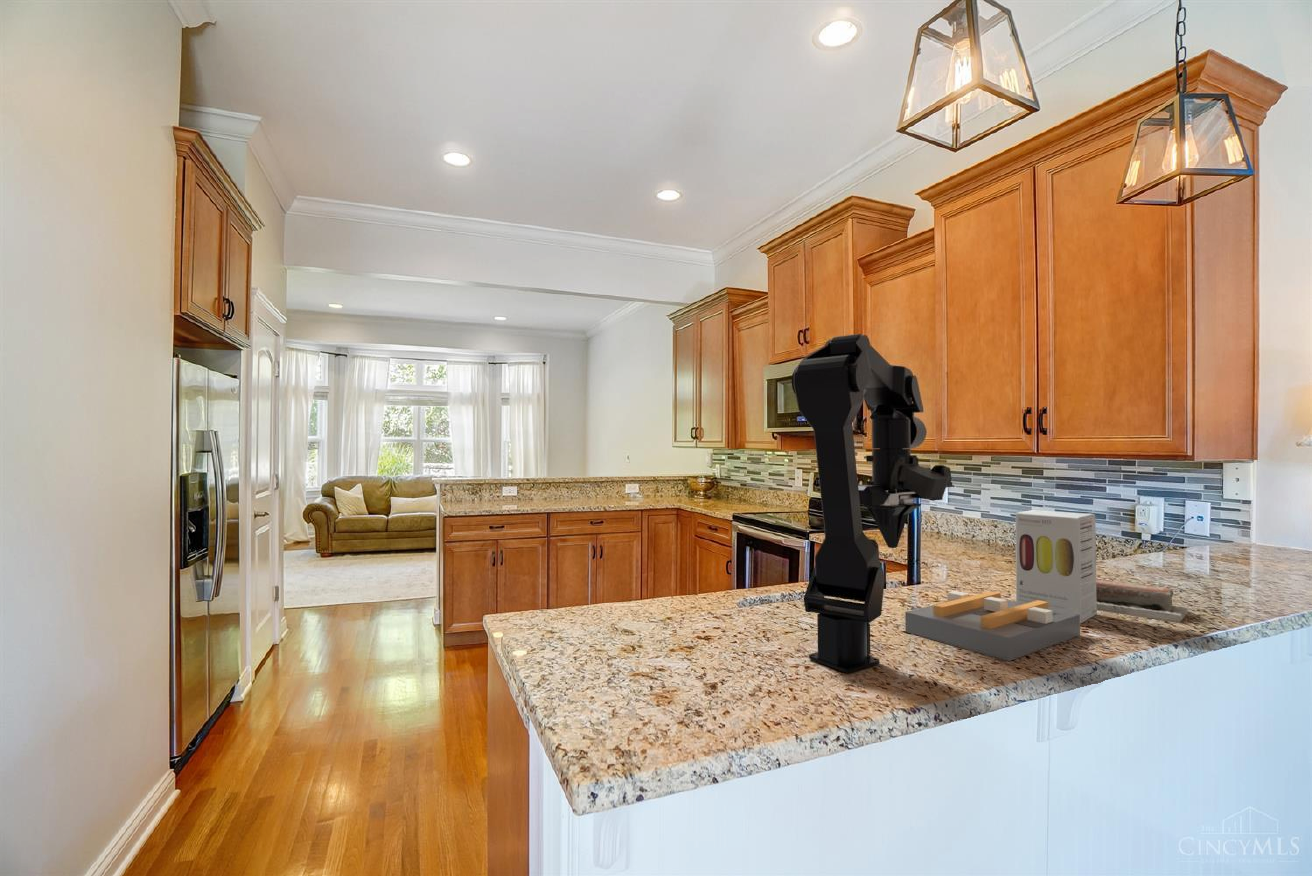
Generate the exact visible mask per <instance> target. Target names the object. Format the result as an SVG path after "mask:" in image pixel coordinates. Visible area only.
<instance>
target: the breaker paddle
mask: <svg viewBox="0 0 1312 876" xmlns="http://www.w3.org/2000/svg"><path fill="white" fill-rule="evenodd" d="M1007 600H1008V599H1004V598H1001V599H1000V598H995V597H988V598H984V609H985V610H990V611H995V612H998V611H1001V610H1005V609H1007Z"/></svg>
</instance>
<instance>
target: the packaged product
mask: <svg viewBox="0 0 1312 876" xmlns="http://www.w3.org/2000/svg"><path fill="white" fill-rule="evenodd" d="M1173 595H1174V591H1173V590H1172V589H1170V588H1165V587H1158V586H1157V587H1156V586H1151V585H1144V584H1138V583H1132V582H1131V583H1129V582H1123V581H1114V580H1109V579H1108V580H1107V579H1101V578H1096V600H1097V609H1098V610H1097V611H1101V610H1102V611H1103V612H1109V613H1114V614H1120V615H1122V614H1123V615H1127V616H1133V617H1134V616H1135V617H1139V616H1140V617H1141V618H1146V617H1147V619H1152V618H1153V620H1161V621H1167V622H1172V623H1173V622H1174V623H1181V622H1182V621H1183V619H1184V618H1185V617H1186V616H1187V615H1188V614H1189V613H1188V612H1189V606H1186V605H1176V604H1173ZM1102 611H1101V612H1102Z"/></svg>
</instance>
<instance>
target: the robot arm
mask: <svg viewBox="0 0 1312 876" xmlns="http://www.w3.org/2000/svg"><path fill="white" fill-rule="evenodd" d="M912 371H913V370H911V369H910V368H908V367H906V366H903V365H893V364H890V363H889V362H888V361H887V360H886V359H885V358H884V357H883V356H882V355H881V354H880V353H879V352H878V350H876V349H875V348H874V347H873V346H872V345H871V342H870V339H869V337H868V335H866V334H862V333H856V334H848V335H838V336H834V337H832V338H831V339H828V340H827V341H826V342H825V344H824V345H823V346H822V347H820V348H817V349H816V350H814V351H813V352H811V353H809V354H808V355H806V356H805V357H803V358H802V360H800V362H799V364H797V366H796V367H795V368H794V369H793V372H792V375H791V387H792V388H791V389H792V391H793V393H794V395H795V399H796V400H795V401H796V404H797V410H798V411H799V412H800V414H801V415H802V417H803V418H804V419H805V421H806V422H807V423H808V425H809V426H810V427H811V428H812V430H813V435H814V436H813V437H814V445H815V454H816V455H815V456H816V464H817V473H818V483H819V492H820V502H821V512H822V521H823V530H824V539H823V541H822V543H821V545H820V546H819V548H818V550H817V552H816V554H815V556H814V568H813V570H812V573H811V576H810V578H809V582H808V584H807V587H806V589H805V592H804V596H803V606H804V610H805V612H806V613H815V614H817V618H816V619H817V620H816V621H817V625H816V626H817V651H816V652H813V653H810V654H808V659H809V660H811V661H814V662H816V663H819V664H822V665H824V666H827V667H830V668H833V669H835V670H838V671H840V672H843V673H846V674H849V673H853V672H856V671H860V670H862V669H866V668H869V667H873V666H877V665H879V664H880V659H879V658H878V657H875V656H871V622H874V621H875V620H876V619H878V618H879V617H880V616H882V612H883V602H884V601H883V600H884V590H885V573H884V570H883V568H882V565H881V561H880V548H879V545H878V542H877V541H876V539H874V538H868V536H867V535H866V534H865V533H864V530H863V522H862V511H861V506H863V508H866V510H867V511H868V512H869V514H870V516H871V517H872V519H873V520H874V522H875V524H876V527H878V530H879V532H880V534H881V536H882V538H883V540H884V542H885V543H886V545H887V547H888V548H889V549H897V548H898V546H899V543H900V540H901V536H902V533H903V531H904V528H905V524H906V522H907V520H908V517H909V515H910V514H911V513H912V512H913V511H914V510H915V509H917V508H920V507H921V506H922V503H916V502H915V503H914V499H923V500H925V499H926V500H929V501H943V497H944V493H945V491H946V489H947V488H951V487H953V482H952V473H951V471H952V470H951V467H949V466H946V465H944V464H935V465H934V466H933V467H932V468H930V467H924V466H921V465H920V464H919V457H917V455H916V454H915V455H914V454H913V455H912V454H911V449H916V448H918V447H919V446H921V445H922V444H923V443H924V442H925V440H926V437H927V432H928V431H927V427H926V424H925V423H924V422H923V420H921V419H920V418H919V417H917V416H915V413H917V414H918V413H924V405H923V401H922V396H921V395H922V394H921V391H920V390H921V389H920V387H919V386H920V385H919V382H918V378H917V375H914V373H913V372H912ZM864 402H865V406H866V409H867V410H868V411H870V414H869V418H870V420H871V455H867V454H866V455H865V456H866V459H865V462H867V463H871V466H872V467H871V469H872V471H871V473H872V477H871V478H872V480H866V484H859V482H858V481H859V480H858V471H857V460H856V451H855V450H856V449H855V439H854V430H853V429H854V428H853V427H854V426H853V423H854V420H855V418H856V417H857V415H858V413H859V411H860V409H861V408H862V405H863V403H864ZM828 597H829V598H828ZM843 599H844V600H843ZM848 600H849V601H848ZM854 601H857V602H854Z"/></svg>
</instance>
